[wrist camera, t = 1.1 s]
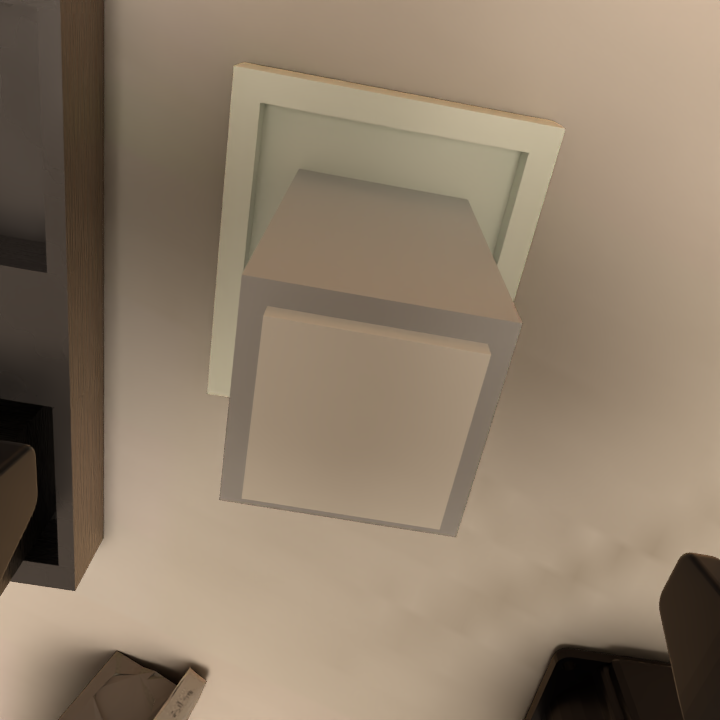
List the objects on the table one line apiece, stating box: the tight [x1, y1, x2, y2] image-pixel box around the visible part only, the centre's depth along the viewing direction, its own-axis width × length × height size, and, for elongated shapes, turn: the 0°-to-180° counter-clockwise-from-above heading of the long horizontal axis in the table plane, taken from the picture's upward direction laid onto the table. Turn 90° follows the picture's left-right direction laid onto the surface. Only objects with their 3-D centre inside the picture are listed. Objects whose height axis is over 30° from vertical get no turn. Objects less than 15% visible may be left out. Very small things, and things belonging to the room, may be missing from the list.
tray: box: [207, 62, 565, 398], centre depth 19 cm, size 9×8×1 cm
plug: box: [219, 169, 523, 537], centre depth 15 cm, size 4×4×8 cm
